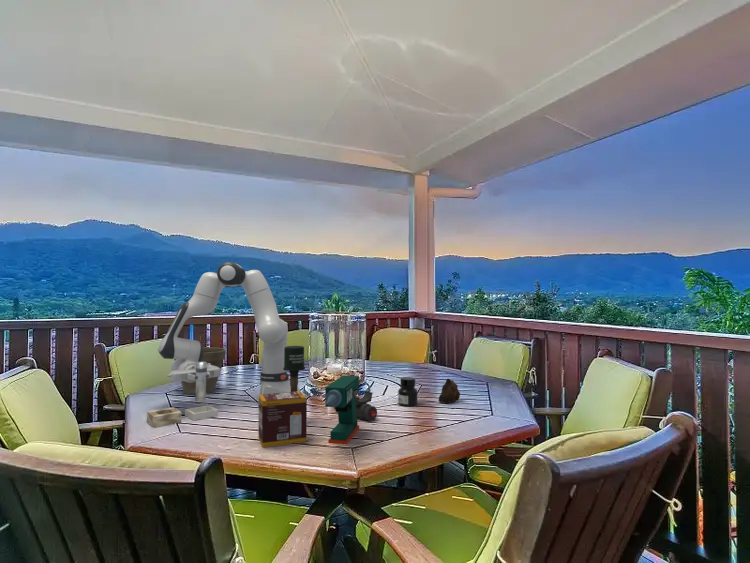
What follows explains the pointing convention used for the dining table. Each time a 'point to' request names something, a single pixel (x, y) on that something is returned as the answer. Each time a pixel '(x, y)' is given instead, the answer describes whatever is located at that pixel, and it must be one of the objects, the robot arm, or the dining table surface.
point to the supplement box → (282, 418)
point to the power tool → (343, 407)
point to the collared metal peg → (201, 381)
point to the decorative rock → (449, 392)
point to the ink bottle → (407, 392)
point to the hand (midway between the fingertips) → (202, 377)
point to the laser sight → (365, 408)
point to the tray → (201, 412)
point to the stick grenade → (294, 363)
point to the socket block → (163, 417)
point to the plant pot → (215, 359)
